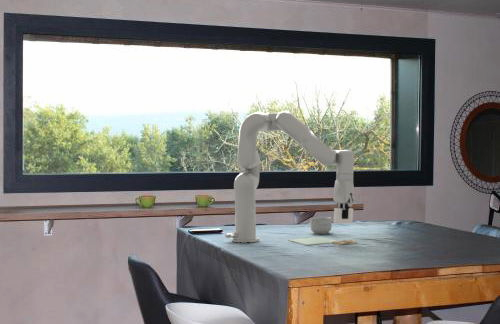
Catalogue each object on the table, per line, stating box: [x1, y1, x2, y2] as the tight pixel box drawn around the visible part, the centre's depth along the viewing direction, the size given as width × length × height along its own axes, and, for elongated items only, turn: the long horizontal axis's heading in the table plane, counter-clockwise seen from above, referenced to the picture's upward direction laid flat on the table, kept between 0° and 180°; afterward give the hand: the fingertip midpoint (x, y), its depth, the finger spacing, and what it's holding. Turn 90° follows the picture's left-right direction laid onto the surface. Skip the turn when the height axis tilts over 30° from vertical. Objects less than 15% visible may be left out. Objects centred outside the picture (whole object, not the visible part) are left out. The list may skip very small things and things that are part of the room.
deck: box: [332, 207, 354, 224], centre depth 302 cm, size 9×2×6 cm, turn 117°
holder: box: [332, 239, 358, 246], centre depth 302 cm, size 10×5×1 cm, turn 117°
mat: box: [287, 236, 337, 246], centre depth 309 cm, size 18×16×1 cm
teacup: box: [309, 216, 333, 235], centre depth 337 cm, size 14×11×8 cm
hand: (343, 218), depth 302 cm, fingers closed on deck, 1 cm apart
